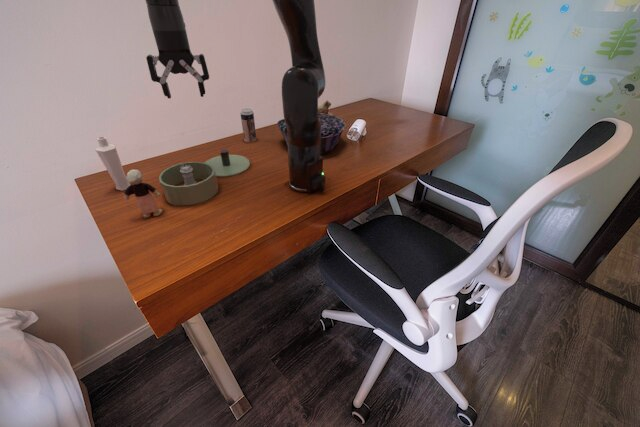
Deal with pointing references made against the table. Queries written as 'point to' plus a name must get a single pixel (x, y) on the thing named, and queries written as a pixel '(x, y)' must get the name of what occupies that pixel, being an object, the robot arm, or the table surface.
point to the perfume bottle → (112, 163)
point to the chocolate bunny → (325, 108)
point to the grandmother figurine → (142, 194)
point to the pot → (189, 192)
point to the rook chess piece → (187, 175)
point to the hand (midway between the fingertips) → (186, 96)
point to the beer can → (248, 125)
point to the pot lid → (228, 164)
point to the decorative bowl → (322, 131)
